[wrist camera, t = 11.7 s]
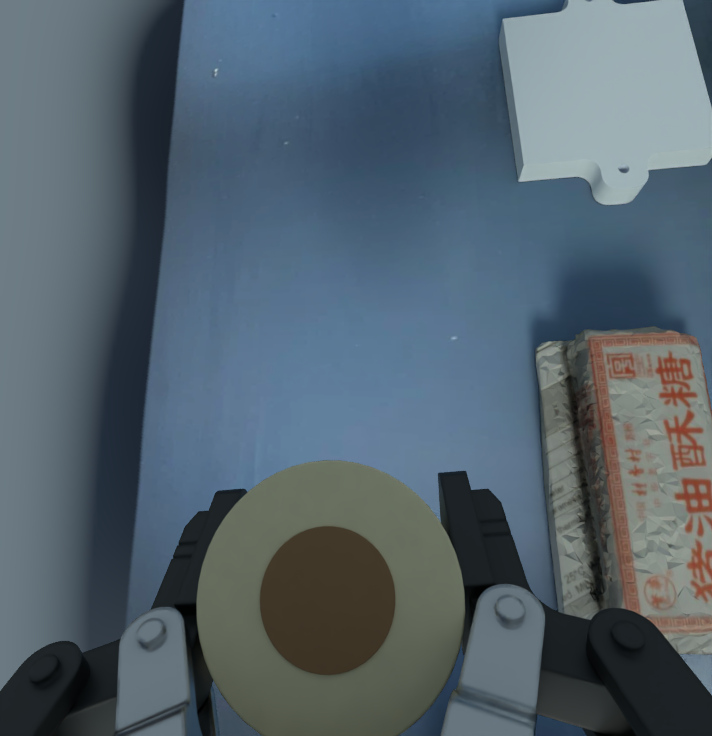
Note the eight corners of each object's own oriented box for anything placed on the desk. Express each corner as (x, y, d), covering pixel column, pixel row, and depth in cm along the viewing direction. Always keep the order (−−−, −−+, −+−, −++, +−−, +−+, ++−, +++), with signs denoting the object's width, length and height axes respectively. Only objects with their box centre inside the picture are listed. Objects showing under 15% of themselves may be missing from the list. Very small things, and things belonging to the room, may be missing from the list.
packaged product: (547, 321, 29) (732, 314, 28) (528, 347, 34) (687, 341, 33) (586, 673, 25) (811, 679, 24) (558, 647, 29) (745, 651, 28)
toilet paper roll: (298, 662, 17) (206, 782, 9) (277, 500, 18) (183, 485, 11) (455, 634, 17) (497, 732, 9) (420, 473, 18) (431, 437, 10)
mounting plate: (495, 16, 41) (499, -7, 40) (662, -4, 40) (674, -29, 38) (522, 212, 37) (528, 196, 35) (713, 195, 35) (730, 178, 34)
